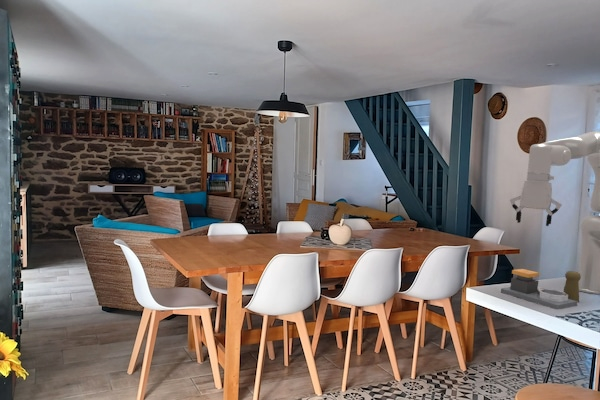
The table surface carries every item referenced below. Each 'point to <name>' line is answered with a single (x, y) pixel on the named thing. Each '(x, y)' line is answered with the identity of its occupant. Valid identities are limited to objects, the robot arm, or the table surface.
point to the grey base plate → (532, 293)
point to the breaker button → (525, 274)
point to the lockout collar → (552, 295)
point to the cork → (572, 285)
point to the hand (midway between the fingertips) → (532, 224)
